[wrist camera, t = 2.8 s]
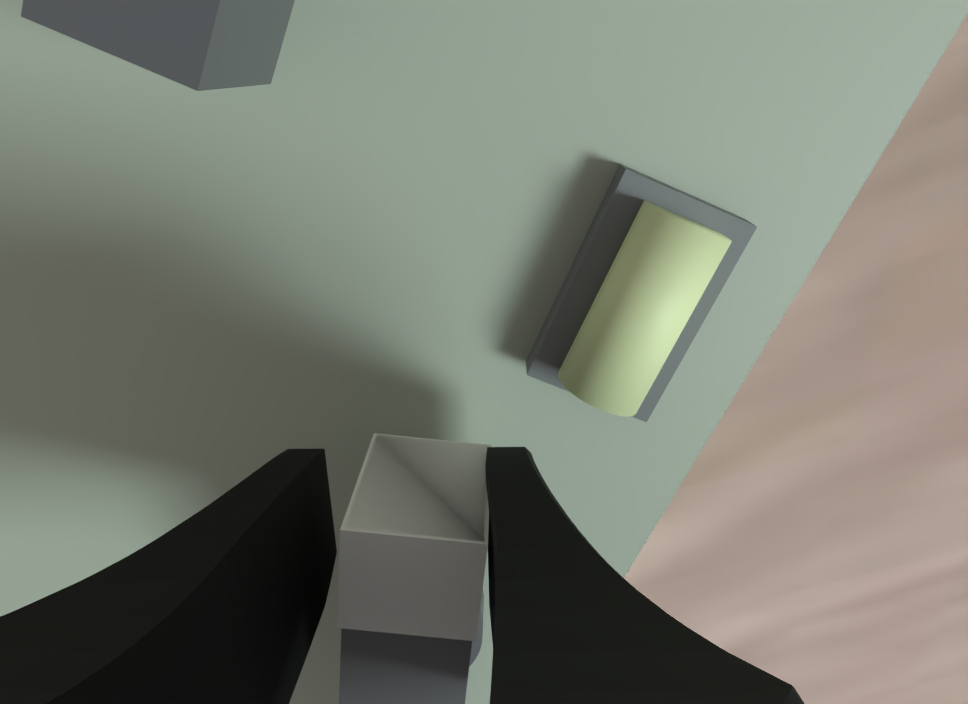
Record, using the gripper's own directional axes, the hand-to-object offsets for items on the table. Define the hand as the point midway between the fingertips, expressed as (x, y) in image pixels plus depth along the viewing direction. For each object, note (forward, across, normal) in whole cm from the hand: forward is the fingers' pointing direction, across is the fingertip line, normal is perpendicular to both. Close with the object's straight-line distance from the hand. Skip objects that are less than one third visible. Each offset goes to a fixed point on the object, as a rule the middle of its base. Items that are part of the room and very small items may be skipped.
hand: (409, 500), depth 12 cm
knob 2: (+1, 0, +3) cm, 3 cm away
